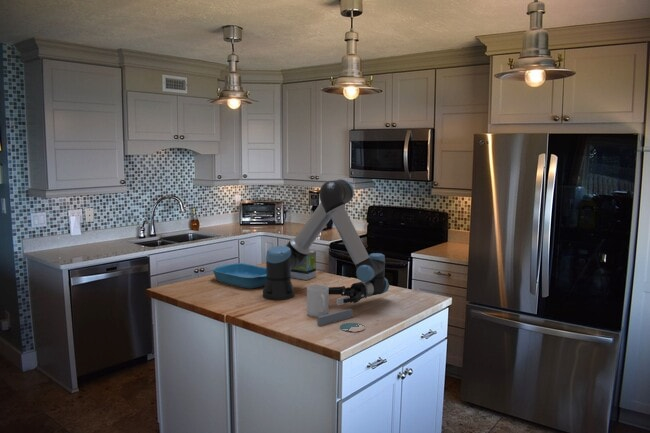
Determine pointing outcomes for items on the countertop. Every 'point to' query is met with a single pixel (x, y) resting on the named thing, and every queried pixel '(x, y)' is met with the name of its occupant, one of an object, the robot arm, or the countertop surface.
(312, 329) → the countertop surface
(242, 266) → the casserole dish
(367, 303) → the countertop surface
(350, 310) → the wall
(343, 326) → the pad
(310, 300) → the mug
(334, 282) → the countertop surface
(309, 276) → the tea box
